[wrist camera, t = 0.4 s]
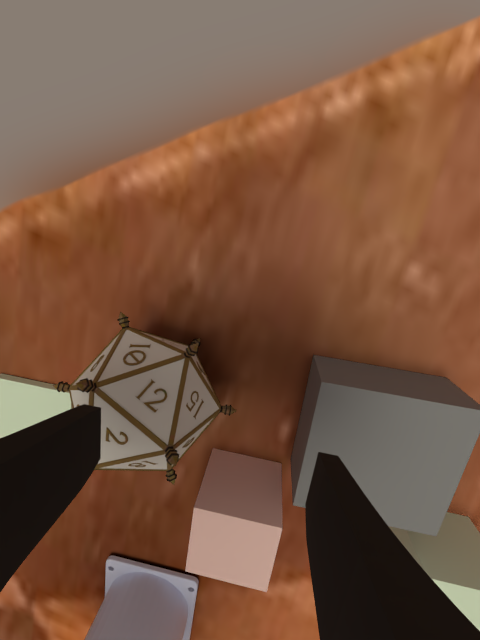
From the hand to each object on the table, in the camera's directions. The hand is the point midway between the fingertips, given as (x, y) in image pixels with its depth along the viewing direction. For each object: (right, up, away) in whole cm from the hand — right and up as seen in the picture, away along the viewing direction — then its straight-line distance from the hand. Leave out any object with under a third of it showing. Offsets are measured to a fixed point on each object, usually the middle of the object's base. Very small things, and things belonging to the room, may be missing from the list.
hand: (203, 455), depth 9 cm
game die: (-3, +1, +11) cm, 11 cm away
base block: (+9, -2, +10) cm, 14 cm away
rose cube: (+1, -8, +12) cm, 15 cm away
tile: (-14, -3, +13) cm, 19 cm away
